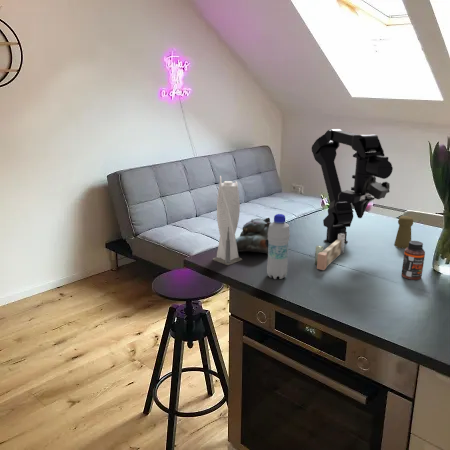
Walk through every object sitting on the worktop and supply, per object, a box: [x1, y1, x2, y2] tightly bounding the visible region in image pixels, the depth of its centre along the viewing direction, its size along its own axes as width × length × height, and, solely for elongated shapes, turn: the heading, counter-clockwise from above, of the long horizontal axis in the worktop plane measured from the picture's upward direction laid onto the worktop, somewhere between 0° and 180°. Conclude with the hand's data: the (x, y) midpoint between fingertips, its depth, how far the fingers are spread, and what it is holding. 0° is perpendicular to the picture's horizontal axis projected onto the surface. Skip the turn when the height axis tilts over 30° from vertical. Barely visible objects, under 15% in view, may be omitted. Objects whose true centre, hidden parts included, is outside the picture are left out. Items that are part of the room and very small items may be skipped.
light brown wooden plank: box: [316, 239, 342, 271], centre depth 167 cm, size 17×2×5 cm, turn 149°
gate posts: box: [314, 233, 345, 266], centre depth 170 cm, size 2×16×7 cm, turn 138°
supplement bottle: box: [401, 240, 426, 281], centre depth 155 cm, size 6×6×11 cm
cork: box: [393, 215, 414, 250], centre depth 183 cm, size 6×6×11 cm
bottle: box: [266, 213, 291, 280], centre depth 153 cm, size 7×7×20 cm
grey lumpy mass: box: [236, 217, 272, 255], centre depth 176 cm, size 15×12×14 cm
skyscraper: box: [212, 175, 243, 266], centre depth 166 cm, size 8×8×28 cm
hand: (359, 217), depth 172 cm, fingers closed
